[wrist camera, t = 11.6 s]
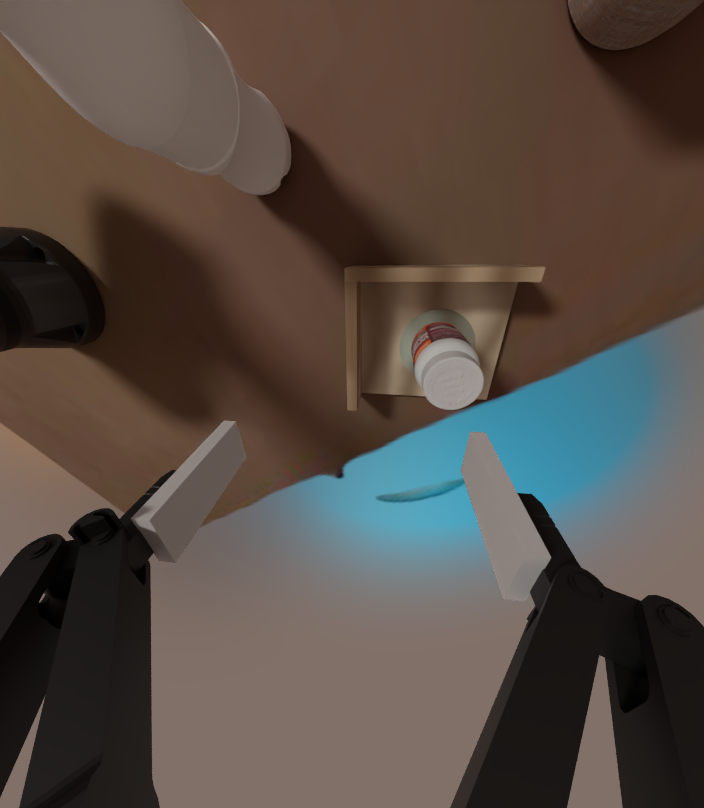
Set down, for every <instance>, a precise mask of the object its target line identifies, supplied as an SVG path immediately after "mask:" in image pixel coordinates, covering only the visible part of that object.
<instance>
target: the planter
mask: <svg viewBox="0 0 704 808" xmlns="http://www.w3.org/2000/svg"><path fill="white" fill-rule="evenodd" d="M702 2H704V0H567V4H568V8H569V12H570V15H571V18H572V21H573V23H574V25H575V27H576V29H577V31H578V32H579V33H580V35H581V36H582V37H583V38H584V39H585V40H586V41H587V42H589V43H590V44H592V45H593V46H596V47H598V48H601V49H605V50H613V51H614V50H624V49H629V48H633V47H636V46H639V45H641V44H644V43H646V42H648V41H650V40H652V39H654V38H655V37H657V36H659V35H660V34H662V33H664V32H665V31H667V30H668V29H670V28H671V27H673V26H674V25H676V24H677V23H678V22H680V21H681V20H682V19H683V18H684V17H686V16H687V15H688V14H689V13H691V12H692V11H693V10H694V9H695V8H697V7H698V6H699V5H700V4H701V3H702Z"/></svg>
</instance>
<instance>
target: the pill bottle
mask: <svg viewBox="0 0 704 808" xmlns="http://www.w3.org/2000/svg"><path fill="white" fill-rule="evenodd" d="M411 353H412V359H413V365H414V374H415V378H416V381H417V383H418V385H419V386H420V388H421V389H422V390H423V391H424V394H425V396H426V398H427V399H428V401H429V402H430V403H432V404H433V405H434V406H436V407H438V408H441V409H446V410H455V409H460V408H463V407H465V406H467V405H469V404H471V403H472V402H473V401H475V400H476V398H477V397H478V396H479V395H480V393H481V391H482V389H483V385H484V376H483V373H482V370H481V368H480V361H479V357H478V355H477V353H476V351H475V350H474V348H473V347H472V346H471V345H470V343H469V342H468V341H467V340H466V338H465V337H464V336H463V335H462V333H461V332H460V331H459V330H458V329H457V328H456V327H455V326H453V325H452V324H449V323H446V322H432V323H429V324H427V325H425V326H424V327H422V328H421V329H420V330H419V331H418V332H417V333H416V335H415V336H414V338H413V341H412V345H411Z"/></svg>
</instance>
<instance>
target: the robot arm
mask: <svg viewBox="0 0 704 808" xmlns="http://www.w3.org/2000/svg"><path fill="white" fill-rule="evenodd" d="M103 326H104V310H103V305H102V302H101V299H100V296H99V293H98V291H97V289H96V287H95V285H94V283H93V281H92V280H91V278H90V277H89V275H88V274H87V272H86V271H85V269H84V268H83V267H82V266H81V264H80V263H79V262H78V261H77V260H76V259H75V258H74V257H73V256H72V255H71V254H70V253H69V252H68V251H67V250H66V249H65V248H63V247H62V246H61V245H60V244H58V243H57V242H56V241H54V240H53V239H51V238H49V237H48V236H46V235H44V234H42V233H39V232H37V231H34V230H31V229H26V228H14V227H0V352H2V351H6V350H10V349H14V348H71V347H76V346H80V345H83V344H87V343H90V342H92V341H94V340H95V339H97V338H98V337H99V335H100V334H101V332H102V330H103ZM246 458H247V457H246V454H245V450H244V447H243V443H242V440H241V437H240V433H239V430H238V426H237V423H236V421H223V422H222V423H221V424H220V425H219V426H218V427H217V428H216V430H215V431H214V432H213V433H212V434H211V435H210V436H209V437H208V438H207V439H206V440H205V441H204V442H203V443H202V444H201V445H200V446H199V447H198V448H197V450H196V451H195V452H194V453H193V454H192V455H191V456H190V457H189V458H188V459H187V460H186V461H185V462H184V463H183V464H182V465H181V466H180V467H179V468H178V469H177V470H172V471H170V472H168V473H167V474H165V475H164V476H162V477H161V478H160V479H159V480H158V481H157V482H156V483H155V484H154V485H153V486H152V488H150V489H149V490H148V491H147V492H146V493H145V495H143V496H142V497H141V498H140V499H139V500H138V501H137V502H136V503H135V504H134V505H133V506H132V507H131V508H130V509H129V510H128V511H127V512H126V513H125V514H124V515H123V516H122V517H121V518H120V519H118V517H117V516H116V514H115V513H114V511H113V510H111V509H109V508H107V509H106V508H104V509H99V510H95V511H93V512H91V513H89V514H86V515H85V516H83V517H82V518H80V519H79V520H77V522H75V523H74V524H73V525H72V526H71V528H70V530H69V531H68V533H69V534H70V535H71V536H72V537H73V539H74V540H70V541H65V539H64V538H63V537H62V536H61V535H58V534H51V535H47V536H44V537H41V538H39V539H37V540H35V541H33V542H31V543H30V544H28V545H27V546H26V547H25V548H23V549H22V550H21V551H20V552H19V553H18V554H17V555H16V556H15V557H14V559H13V560H12V561H11V563H10V564H9V565H8V567H7V568H6V569H5V571H4V572H3V573H2V575H1V576H0V797H1V794H2V792H3V790H4V787H5V785H6V783H7V781H8V778H9V776H10V774H11V771H12V769H13V767H14V765H15V763H16V760H17V758H18V756H19V753H20V751H21V749H22V747H23V744H24V742H25V740H26V738H27V735H28V733H29V731H30V728H31V726H32V724H33V722H34V719H35V717H36V715H37V713H38V710H39V708H40V706H41V704H42V701H43V699H44V697H45V700H44V704H43V708H42V713H41V717H40V721H39V726H38V730H37V734H36V738H35V742H34V747H33V751H32V756H31V760H30V764H29V768H28V773H27V777H26V781H25V786H24V790H23V794H22V798H21V803H20V807H19V808H160V807H159V802H158V797H157V794H156V792H155V789H154V786H153V780H152V731H151V728H152V727H151V725H152V724H151V596H150V595H151V594H150V593H151V591H150V563H149V561H148V559H149V558H150V557H151V555H152V554H153V553H154V554H155V555H156V557H157V558H158V560H159V561H166V562H176V561H177V560H178V558H179V557H180V555H181V554H182V552H183V551H184V549H185V548H186V546H187V545H188V543H189V542H190V541H191V539H192V537H193V536H194V535H195V533H196V532H197V530H198V529H199V527H200V526H201V524H202V523H203V521H204V520H205V518H206V517H207V515H208V514H209V512H210V511H211V509H212V508H213V506H214V505H215V503H216V502H217V501H218V499H219V498H220V496H221V495H222V493H223V492H224V490H225V489H226V487H227V486H228V484H229V483H230V481H231V480H232V478H233V477H234V475H235V474H236V472H237V471H238V469H239V468H240V466H241V465H242V464H243V462H244V461H245V459H246ZM461 472H462V475H463V479H464V482H465V485H466V487H467V491H468V494H469V497H470V500H471V503H472V506H473V509H474V512H475V515H476V518H477V521H478V524H479V527H480V530H481V533H482V536H483V539H484V542H485V545H486V549H487V552H488V555H489V557H490V561H491V564H492V567H493V570H494V573H495V576H496V579H497V582H498V585H499V588H500V591H501V594H502V597H503V599H508V600H517V601H526V599H527V597H528V596H529V594H531V596H532V598H533V601H534V603H535V607H534V609H533V610H532V612H531V613H530V615H529V616H528V618H527V620H528V623H527V625H526V628H525V630H524V632H523V635H522V637H521V640H520V642H519V644H518V647H517V649H516V652H515V654H514V656H513V659H512V661H511V664H510V666H509V668H508V671H507V673H506V676H505V678H504V680H503V683H502V685H501V688H500V690H499V692H498V695H497V697H496V699H495V702H494V704H493V707H492V709H491V711H490V714H489V716H488V719H487V721H486V723H485V726H484V728H483V731H482V733H481V735H480V738H479V740H478V742H477V745H476V747H475V750H474V752H473V755H472V757H471V759H470V762H469V764H468V766H467V769H466V771H465V774H464V776H463V779H462V781H461V783H460V786H459V788H458V790H457V793H456V795H455V798H454V800H453V803H452V805H451V807H450V808H567V804H568V800H569V795H570V790H571V786H572V781H573V776H574V771H575V767H576V762H577V757H578V753H579V747H580V743H581V738H582V733H583V729H584V724H585V719H586V715H587V710H588V706H589V701H590V696H591V691H592V687H593V682H594V677H595V672H596V668H597V663H598V658H599V655H600V656H603V657H605V661H606V670H607V679H608V687H609V695H610V704H611V713H612V721H613V729H614V738H615V746H616V755H617V763H618V771H619V780H620V788H621V796H622V805H623V808H704V627H703V625H702V624H701V623H700V622H699V621H698V620H697V619H696V618H695V617H694V616H693V615H692V614H691V613H690V612H688V611H687V610H686V609H684V608H683V607H682V606H680V605H679V604H677V603H675V602H673V601H671V600H669V599H667V598H664V597H661V596H658V595H648V596H647V597H645V598H644V599H643V600H642V601H639V600H637V599H634V598H632V597H629V596H626V595H624V594H621V593H618V592H616V591H613V590H611V589H609V588H606V587H605V586H604V585H603V584H602V583H601V582H600V581H599V580H598V579H597V578H596V577H595V576H594V575H592V574H591V573H590V572H588V571H587V570H585V569H583V568H581V567H580V565H579V564H578V562H577V561H576V559H575V557H574V555H573V554H572V552H571V551H570V549H569V547H568V546H567V544H566V542H565V541H564V539H563V537H562V536H561V534H560V532H559V531H558V529H557V528H556V527H555V524H554V522H553V521H552V519H551V518H550V517H549V514H548V512H547V511H546V509H545V508H544V506H543V505H542V503H541V502H540V501H538V500H537V499H536V498H535V497H534V496H533V495H532V494H522V493H517V492H516V490H515V488H514V486H513V484H512V482H511V481H510V478H509V477H508V475H507V473H506V471H505V469H504V467H503V465H502V464H501V461H500V460H499V458H498V456H497V454H496V452H495V450H494V448H493V446H492V444H491V443H490V441H489V439H488V437H487V435H486V433H482V432H470V435H469V439H468V443H467V447H466V451H465V455H464V460H463V464H462V468H461ZM43 593H44V594H46V595H45V597H44V598H43V600H42V601H41V602H40V603H39V601H40V599H41V597H42V595H43Z"/></svg>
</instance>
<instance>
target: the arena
mask: <svg viewBox="0 0 704 808" xmlns="http://www.w3.org/2000/svg"><path fill="white" fill-rule="evenodd" d="M544 271H545V267H541V266H530V265H520V264H516V265H373V266H350V267H347V268H344V277H345V321H346V364H347V408H348V410H353V411H357V409H358V405H359V401H360V397H361V393H374V394H392V395H410V396H425V394H424V391H423V390H422V389H421V388H420V386H419V385H418V383H417V381H416V378H415V374H414V365H413V359H412V353H411V345H412V341H413V338H414V336H415V335H416V333H417V332H418V331H419V330H420V329H421V328H422V327H424V326H425V325H427V324H429V323H432V322H446V323H449V324H452V325H453V326H455V327H456V328H457V329H458V330H459V331H460V332H461V333H462V335H463V336H464V337H465V338H466V340H467V341H468V342H469V343H470V345H471V346H472V347H473V348H474V350H475V351H476V353H477V355H478V357H479V361H480V368H481V370H482V373H483V376H484V385H483V389H482V391H481V393H480V395H479V396H478V397H477V398H476V399H482V400H487V396H488V393H489V389H490V385H491V381H492V378H493V374H494V370H495V366H496V363H497V359H498V355H499V351H500V348H501V344H502V340H503V336H504V333H505V329H506V325H507V321H508V318H509V314H510V310H511V307H512V303H513V299H514V295H515V292H516V288H517V284H518V282H541V281H542V277H543V274H544Z"/></svg>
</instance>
